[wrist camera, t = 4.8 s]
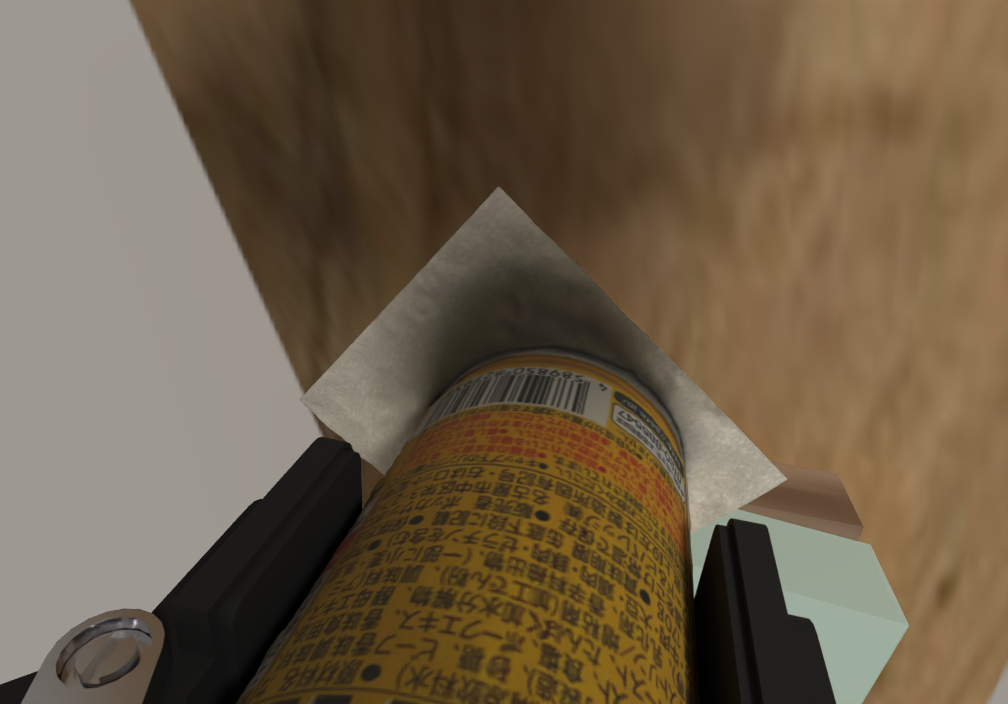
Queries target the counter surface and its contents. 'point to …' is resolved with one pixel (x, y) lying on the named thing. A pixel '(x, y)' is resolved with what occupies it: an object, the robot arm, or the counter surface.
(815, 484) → the bottom block
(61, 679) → the robot arm
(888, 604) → the top block
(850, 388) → the counter surface
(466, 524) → the condiment
